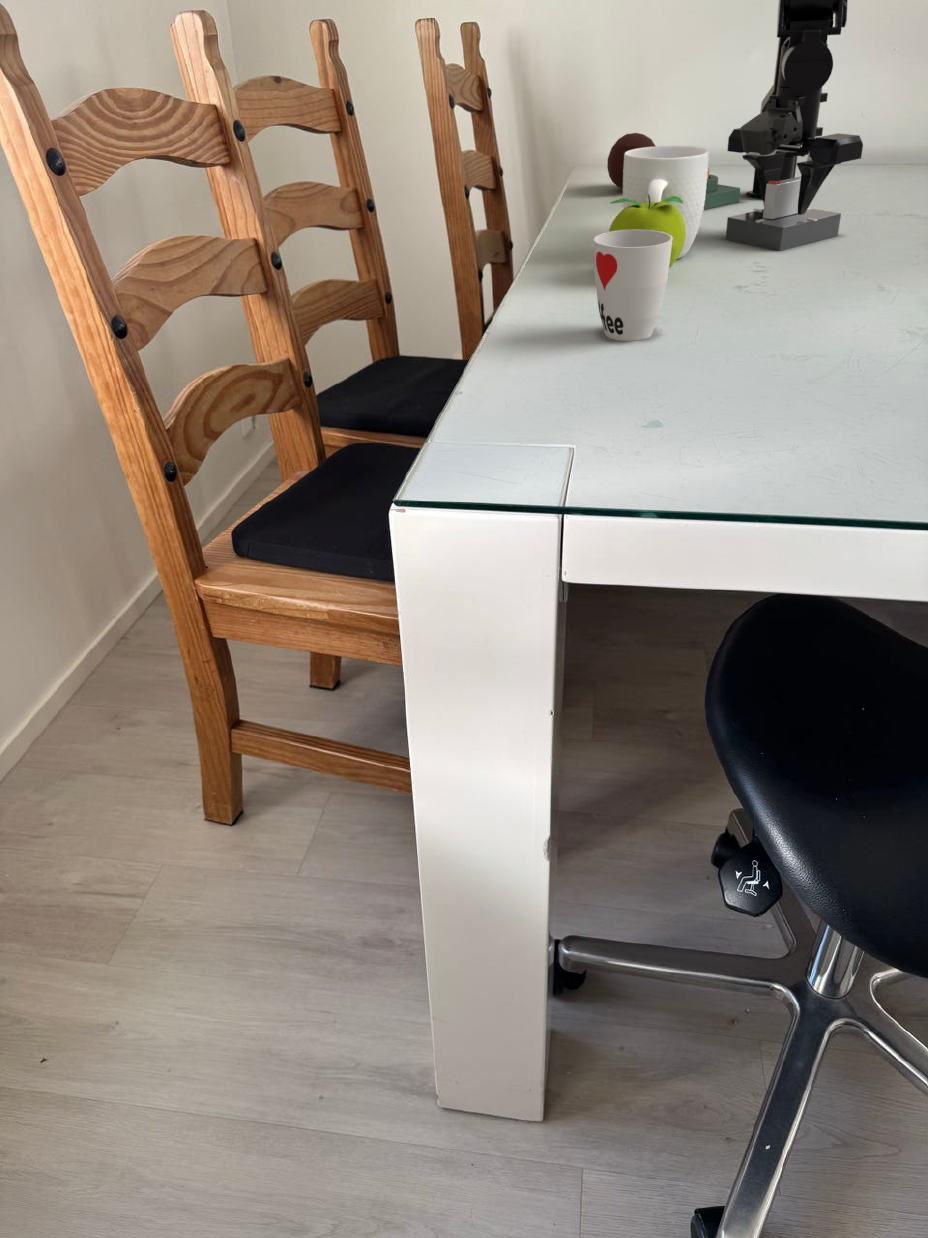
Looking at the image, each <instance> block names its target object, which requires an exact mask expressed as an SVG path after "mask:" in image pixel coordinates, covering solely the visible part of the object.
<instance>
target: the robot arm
mask: <svg viewBox="0 0 928 1238" xmlns="http://www.w3.org/2000/svg"><path fill="white" fill-rule="evenodd" d="M848 1H849V0H778V6H777V17H776V18H777V21H776V38H778V43H777V51H776V59H775V67H774V77H773V84H772V86H771V88H770V89H769V90H768V92H767V93H766V94H765V96H764V98H763V99H762V101H761V104H760V113H758V114H757V115H755V116H754V117H753V118H751V119H750V120H749V121H746V123H744V124H743V125H741V127H738V128H733V130H732V131H731V133H730V135H728V138H727V148H726V149H727V150H726V151H727V152H730V153H731V152H732V153H739V154H742V153H744V154H743V155H741V156H742V159H743V160H744V161H747V162H748V163H749V164H750V165H751V166H752V167H753V168H754V172H753V182H752V190H748V191H746V192H745V196H749V197H756V198H761V199H762V203H763V204H764V203H765V194H766V185H767V183H768V182H769V181H782V180H786V179H791V178H796V170H797V169H798V171H799V172H800V176H801V182H800V190H799V198H798V214H799V215H802V214H805V212H806V211H807V209H808V208H810V205H811V204H812V202H813V200H814V199H815V197H816V195H817V193H818V191H819V190H820V188H821V186H822V185H823V184H824V182H825V180H826V178H827V177H829V174H830V173H831V172H832V171H833V169H834V167H835V166H836V165H841V164H843V163H846V162H851V161H856V160H860V159H862V155H863V150H864V149H863V148H864V142H863V140H862V137H861V136H860V134H849V133H838V132H837V133H833V134H828V135H823V131H824V127H822V126H818V122H819V116H820V107H821V104H822V103H826V102H828V96H829V92H823V87H824V86H825V84H827V82H828V81H829V79H830V77H831V75H832V72H833V69H834V58H833V54H832V52H831V50H830V48H829V44H828V36H841V33H842V28H846V24H847V20H848ZM805 156H807V158H806V160H805V161H799V162H798V157H802V158H804V157H805Z"/></svg>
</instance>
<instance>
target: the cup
mask: <svg viewBox="0 0 928 1238" xmlns="http://www.w3.org/2000/svg"><path fill="white" fill-rule="evenodd" d="M672 240H673V237H672V236H671V235H669V234H667V233H664V232H659V231H652V230H619V231H612V232H609V231H606V232H603V233H600V234H597V235H596V236H594V238H593V263H594V264H593V265H594V267H593V268H594V284H595V285H594V286H595V290H596V299H597V305H598V312H599V313H598V314H599V317H600V321H601V324H602V327H603V331H604V335H605V336H606V338H608V339H611V340H614V341H621V342H635V341H636V342H637V341H643V340H646V339H648V338H650V337H652V335H653V332H654V330H655V327H656V325H657V322H658V318H659V316H660V313H661V310H662V306H663V302H664V301H663V300H664V297H665V292H666V289H667V284H668V280H669V279H668V278H669V271H670V269H669V264H670V256H671V248H672Z"/></svg>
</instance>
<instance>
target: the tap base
mask: <svg viewBox="0 0 928 1238" xmlns="http://www.w3.org/2000/svg"><path fill="white" fill-rule="evenodd" d="M763 212H764V208H762V209H760V208H752V211H749V212H744V213H740V214H735V215H731V216H727V219H726V230H725V239H726V241H727V240H728V241H733V242H738V243H741V244H747V245H751V246H756V247H761V248H765V249H769V250H775V251H778V252H779V251H780V252H781V251H784V250H787V249H792V248H795V247H800V246H803V245H808V244H811V243H815V242H819V241H822V240H826V239H831V238H834V237H838V236H839V230H840V224H841V217H842V213H840V212H835V211H830V210H829V211H828V210H823V209H817V208H812V207H808V209H807V211H806V212H805V214H802V215H799V214H798V213H797V214H793V215H788V216H784V217H780V218H776V219H772V220H771V219H766V218H763Z"/></svg>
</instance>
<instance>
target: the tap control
mask: <svg viewBox="0 0 928 1238" xmlns="http://www.w3.org/2000/svg"><path fill="white" fill-rule="evenodd" d="M706 186H707V188H706V195H705V201H704V210H703V211H705V210H708V209H709V210H710V209H714V208H718V207H722V206H727V205H732V204H736V203H740V195H741V187H738V186H731V185H725V184H720V183H719V177H718V176H717V175H715V174H709V179H707V184H706Z"/></svg>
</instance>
